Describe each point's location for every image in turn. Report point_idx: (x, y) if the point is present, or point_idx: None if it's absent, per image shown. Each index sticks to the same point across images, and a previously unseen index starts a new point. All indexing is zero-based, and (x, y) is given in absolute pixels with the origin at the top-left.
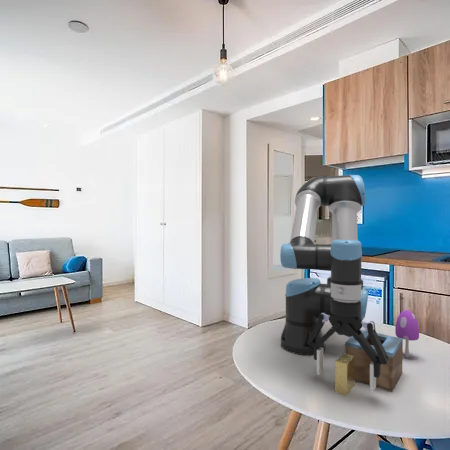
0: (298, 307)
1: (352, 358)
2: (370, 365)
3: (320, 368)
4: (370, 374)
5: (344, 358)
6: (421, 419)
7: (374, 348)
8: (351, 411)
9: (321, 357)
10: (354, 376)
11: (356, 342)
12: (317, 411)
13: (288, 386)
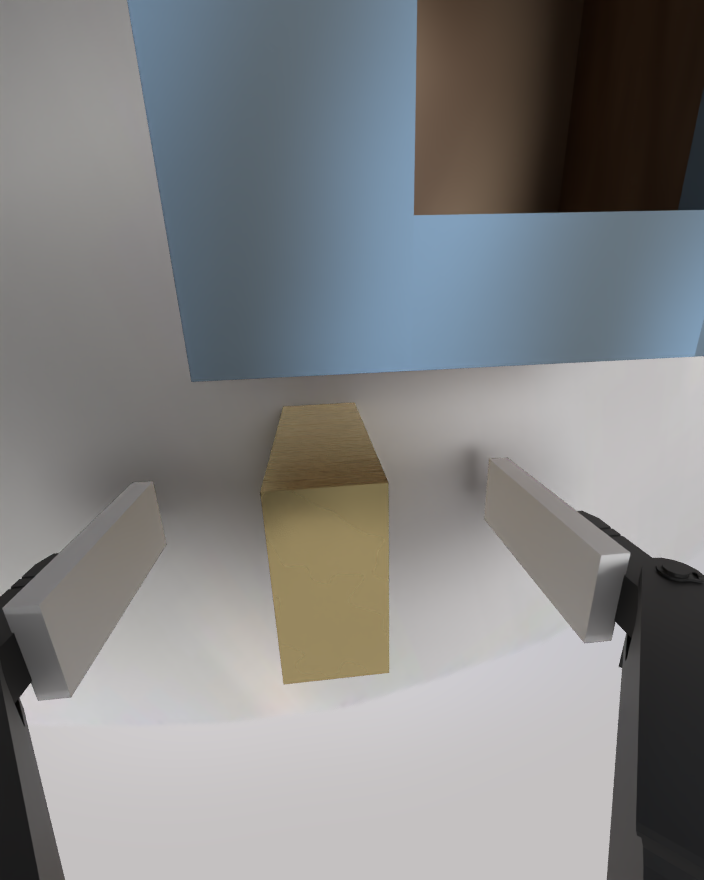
0: None
1: (387, 545)
2: (581, 635)
3: (148, 548)
4: (538, 582)
5: (325, 594)
6: (675, 488)
7: (648, 340)
8: (417, 620)
9: (104, 584)
10: (361, 421)
11: (349, 262)
12: (308, 700)
13: None
